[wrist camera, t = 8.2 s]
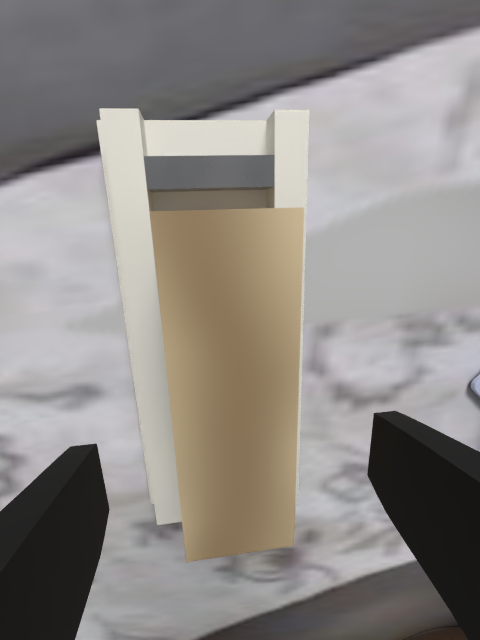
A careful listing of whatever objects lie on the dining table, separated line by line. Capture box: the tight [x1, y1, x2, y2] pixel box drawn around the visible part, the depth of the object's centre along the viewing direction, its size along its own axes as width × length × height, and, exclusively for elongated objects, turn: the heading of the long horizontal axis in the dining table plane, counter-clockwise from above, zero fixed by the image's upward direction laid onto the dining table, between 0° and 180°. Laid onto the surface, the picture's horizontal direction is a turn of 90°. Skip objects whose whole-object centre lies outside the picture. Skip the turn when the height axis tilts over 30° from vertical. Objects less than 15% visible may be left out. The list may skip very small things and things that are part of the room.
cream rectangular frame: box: [97, 109, 309, 525], centre depth 17 cm, size 20×9×3 cm, turn 2°
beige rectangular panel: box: [150, 207, 304, 562], centre depth 14 cm, size 4×12×7 cm, turn 1°
